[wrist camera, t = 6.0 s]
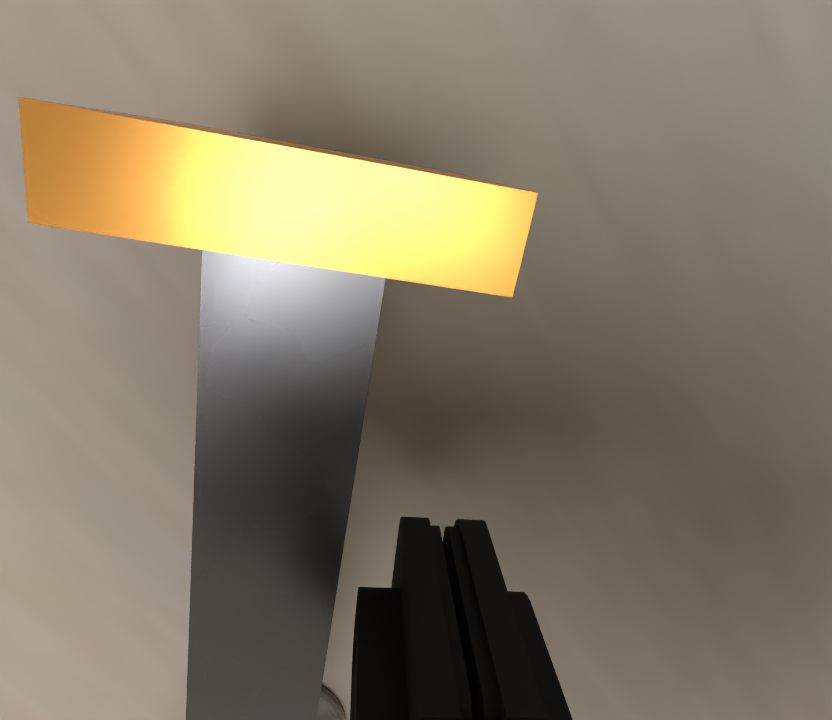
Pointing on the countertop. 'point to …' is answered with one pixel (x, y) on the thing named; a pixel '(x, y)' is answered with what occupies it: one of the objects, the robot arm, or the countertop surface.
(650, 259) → the countertop surface
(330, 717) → the pivot post
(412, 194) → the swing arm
